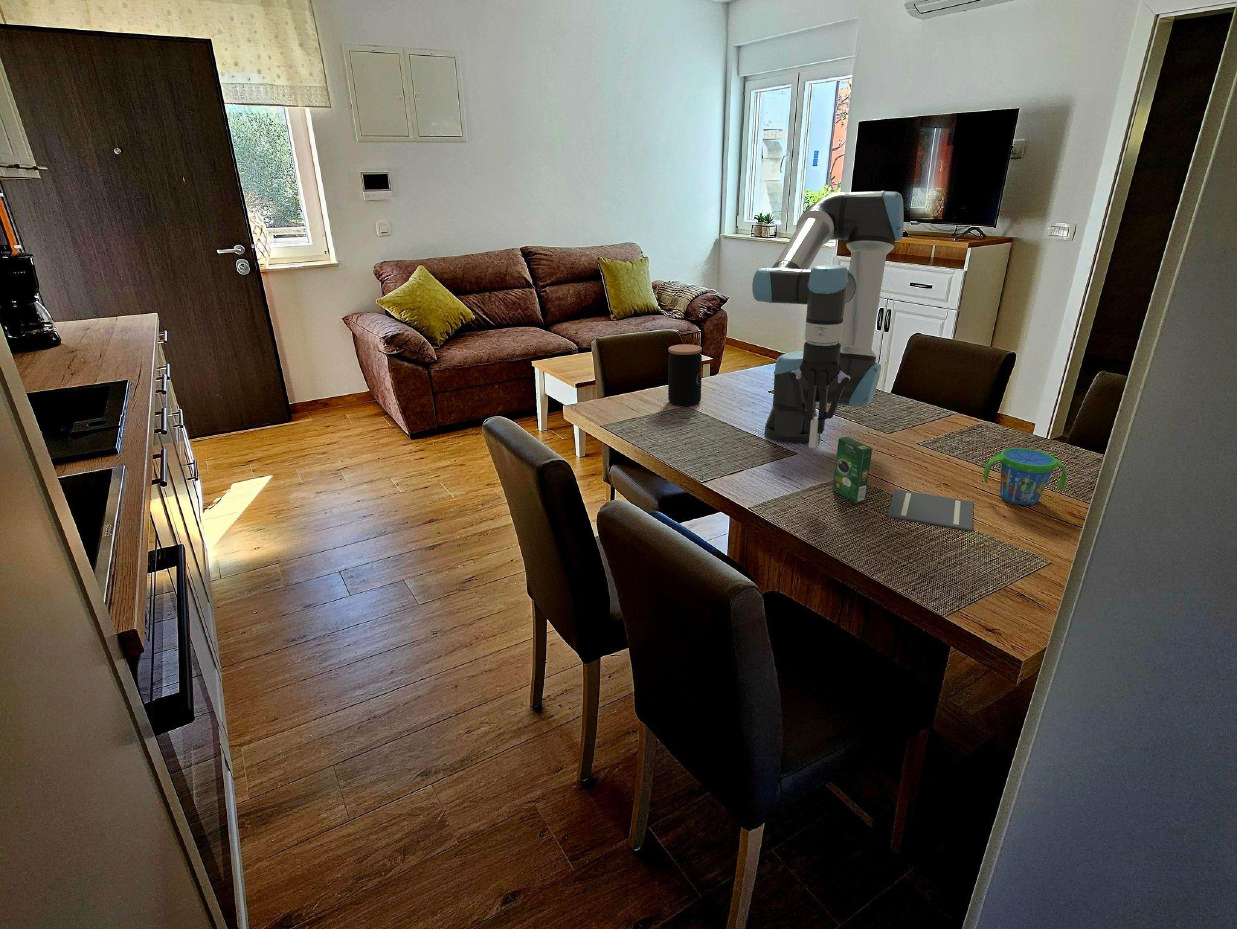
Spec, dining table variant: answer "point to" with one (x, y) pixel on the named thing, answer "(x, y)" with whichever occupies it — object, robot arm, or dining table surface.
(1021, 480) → the snack cup
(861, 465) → the coffee box
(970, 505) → the mat
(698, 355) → the coffee jar
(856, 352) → the robot arm
